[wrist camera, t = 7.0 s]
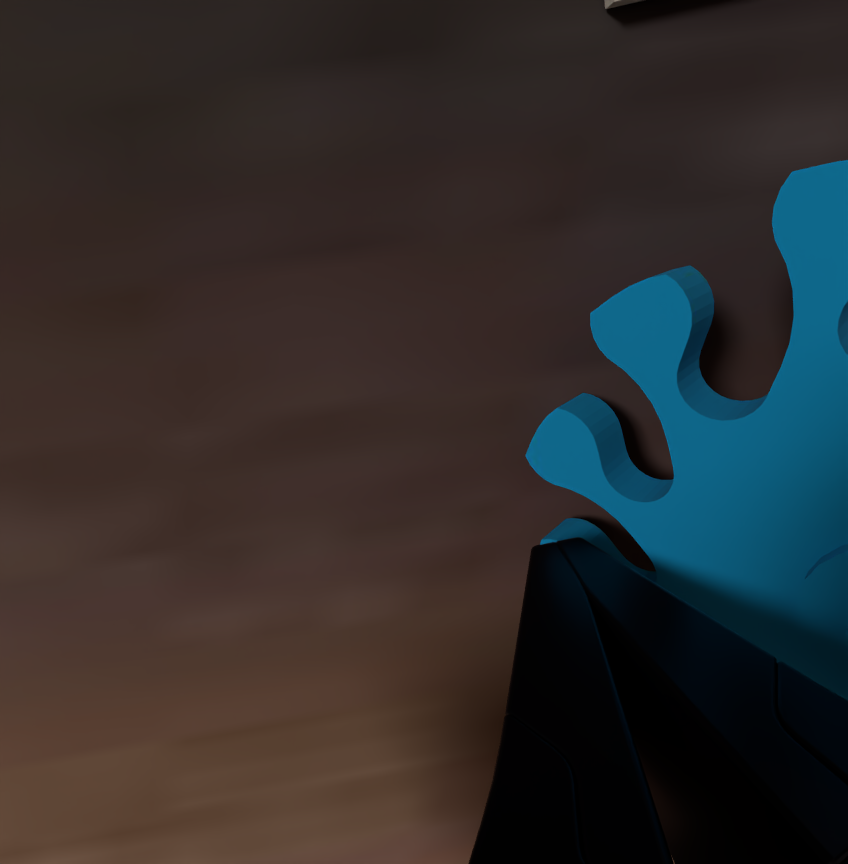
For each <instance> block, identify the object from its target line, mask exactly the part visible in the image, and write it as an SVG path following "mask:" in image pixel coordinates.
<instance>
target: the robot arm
mask: <svg viewBox="0 0 848 864" xmlns="http://www.w3.org/2000/svg"><path fill="white" fill-rule="evenodd" d="M671 856H672V857H671ZM672 858H673V860H674V862H675V864H848V701H847V700H846V699H844V698H842V697H841V696H839V695H837V694H836V693H834V692H832V691H830V690H829V689H827V688H825V687H824V686H822V685H820V684H819V683H817V682H815V681H814V680H812V679H810V678H809V677H807V676H805V675H804V674H802V673H800V672H799V671H797V670H796V669H794V668H792V667H791V666H789V665H787V664H786V663H784V662H782V661H779V662H778V663H777V659H776V658H775V657H774V656H773V655H771V654H769V653H768V652H766V651H764V650H763V649H761V648H760V647H758V646H756V645H755V644H753V643H751V642H750V641H748V640H747V639H745V638H743V637H742V636H740V635H739V634H737V633H735V632H734V631H732V630H730V629H729V628H727V627H726V626H724V625H722V624H721V623H719V622H717V621H716V620H714V619H713V618H711V617H709V616H708V615H706V614H705V613H703V612H701V611H700V610H698V609H696V608H695V607H693V606H692V605H690V604H688V603H687V602H685V601H684V600H682V599H680V598H679V597H677V596H675V595H674V594H672V593H671V592H669V591H667V590H666V589H664V588H662V587H661V586H659V585H658V584H656V583H654V582H653V581H651V580H650V579H648V578H646V577H645V576H643V575H641V574H640V573H638V572H637V571H635V570H633V569H632V568H630V567H628V566H627V565H625V564H624V563H622V562H620V561H619V560H617V559H616V558H614V557H612V556H611V555H609V554H607V553H606V552H604V551H603V550H601V549H599V548H598V547H596V546H595V545H593V544H591V543H590V542H588V541H586V540H585V539H583V538H581V537H575V538H570V539H565V540H560V541H557V542H551V543H546V544H541V545H536V546H534V547H533V548H532V550H531V555H530V561H529V568H528V574H527V580H526V586H525V593H524V599H523V605H522V612H521V618H520V624H519V630H518V637H517V643H516V649H515V656H514V662H513V668H512V674H511V681H510V687H509V693H508V699H507V706H506V716H505V717H504V722H503V728H502V735H501V741H500V746H499V751H498V756H497V761H496V766H495V771H494V776H493V781H492V785H491V788H490V792H489V796H488V799H487V803H486V807H485V810H484V814H483V818H482V821H481V825H480V828H479V831H478V835H477V838H476V841H475V844H474V848H473V851H472V854H471V857H470V860H469V864H674V863H673V860H672Z"/></svg>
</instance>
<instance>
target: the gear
mask: <svg viewBox="0 0 848 864" xmlns="http://www.w3.org/2000/svg"><path fill="white" fill-rule="evenodd" d="M772 226H773V232H774V238H775V241H776V243H777V245H778V247H779V249H780V251H781V254H782V256H783V258H784V260H785V262H786V265H787V269H788V273H789V277H790V281H791V285H792V289H793V308H794V319H793V325H792V332H791V338H790V343H789V346H788V349H787V352H786V354H785V357H784V360H783V363H782V366H781V368H780V370H779V372H778V374H777V376H776V379H775V381H774V383H773V385H772V387H771V389H770V391H769V393H768V394H767V395H766V396H764V397H762V398H758V399H755V400H749V401H738V400H731V399H728V398H726V397H723V396H721V395H719V394H718V393H716V392H714V391H713V390H712V389H711V388H710V387H709V386H708V385H707V384H706V382H705V381H704V379H703V377H702V375H701V371H700V368H699V357H700V353H701V349H702V346H703V344H704V341H705V338H706V336H707V333H708V331H709V328H710V325H711V322H712V318H713V314H714V299H713V294H712V290H711V288H710V286H709V284H708V282H707V280H706V279H705V278H704V277H703V276H702V275H701V273H700V272H699V271H697V270H696V269H694V268H693V267H692V266H685V267H681V268H677V269H673V270H669V271H667V272H664V273H661V274H658V275H656V276H653V277H650V278H647V279H645V280H643V281H640V282H638V283H636V284H633V285H631V286H629V287H627V288H626V289H624V290H622V291H621V292H619V293H618V294H616V295H614V296H613V297H611V298H610V299H609V300H607V301H606V302H605V303H603V304H602V305H601V306H599V307H598V308H597V309H595V310H594V311H593V312H591V313H590V326H591V330H592V334H593V338H594V340H595V342H596V343H597V345H598V347H599V349H600V350H601V351H602V352H603V353H604V355H605V356H606V357H607V358H608V359H610V360H611V361H612V362H614V363H615V364H616V365H618V366H619V367H620V368H622V369H623V370H624V371H625V372H626V373H627V374H628V375H629V376H630V377H631V378H632V379H633V380H634V381H635V382H636V383H637V384H638V385H639V386H640V387H641V389H642V390H643V392H644V393H645V394H646V396H647V397H648V399H649V400H650V401H651V403H652V405H653V407H654V409H655V411H656V413H657V415H658V417H659V419H660V421H661V423H662V426H663V429H664V432H665V436H666V439H667V442H668V447H669V451H670V456H671V460H672V465H673V471H674V479H672V480H660V479H655V478H652V477H650V476H648V475H646V474H644V473H643V472H641V471H640V470H639V469H638V468H637V467H636V466H635V465H634V464H633V463H632V461H631V460H630V458H629V456H628V453H627V450H626V446H625V442H624V438H623V433H622V429H621V426H620V423H619V420H618V418H617V416H616V415H615V413H614V411H613V410H612V409H611V408H610V407H609V406H608V405H607V404H606V403H605V402H604V401H602V400H601V399H600V398H597V397H595V396H593V395H591V394H587V393H582V394H580V395H578V396H577V397H575V398H573V399H572V400H570V401H568V402H566V403H565V404H563V405H561V406H560V407H558V408H556V409H555V410H554V411H553V412H551V413H550V414H549V415H548V416H547V417H546V418H545V419H544V421H543V422H542V423H541V424H540V426H539V427H538V429H537V431H536V433H535V435H534V437H533V438H532V441H531V443H530V446H529V448H528V451H527V453H526V458H527V460H528V461H529V463H530V465H531V466H532V468H533V469H534V470H535V471H536V473H537V474H539V475H540V476H541V477H542V478H543V479H545V480H546V481H548V482H550V483H552V484H554V485H557V486H561V487H564V488H567V489H570V490H572V491H575V492H577V493H579V494H581V495H583V496H585V497H587V498H589V499H590V500H592V501H593V502H595V503H596V504H598V505H599V506H601V507H602V508H604V509H605V510H606V511H607V512H608V513H610V514H611V515H612V516H613V517H614V518H616V519H617V520H618V521H619V522H620V523H621V525H622V526H623V527H624V528H625V529H626V530H627V531H628V532H629V533H630V534H631V535H632V537H633V538H634V539H635V540H636V542H637V543H638V544H639V545H640V546H641V548H642V549H643V550H644V551H645V553H646V554H647V555H648V556H649V558H650V559H651V561H652V562H653V565H654V567H655V570H656V572H655V571H647V570H644V569H641V568H639V567H637V566H635V565H633V564H632V563H631V562H629V561H628V560H627V559H626V558H625V557H624V556H623V555H622V554H621V552H620V551H619V550H618V549H617V547H616V546H615V545H614V544H613V543H612V541H611V540H610V539H609V538H608V536H607V535H606V534H605V533H604V532H603V531H602V530H601V529H599V528H598V527H597V526H595V525H594V524H592V523H590V522H588V521H585V520H582V519H578V518H568V519H565V520H564V521H563V522H562V523H560V524H559V525H558V526H557V527H556V528H555V529H553V530H552V531H551V532H550V533H549V534H548V535H547V536H545V537H544V538H543V539H542V540H541V543H540V545H541V544H546V543H551V542H557V541H560V540H565V539H570V538H575V537H581V538H583V539H585V540H586V541H588V542H590V543H591V544H593V545H595V546H596V547H598V548H599V549H601V550H603V551H604V552H606V553H607V554H609V555H611V556H612V557H614V558H616V559H617V560H619V561H620V562H622V563H624V564H625V565H627V566H628V567H630V568H632V569H633V570H635V571H637V572H638V573H640V574H641V575H643V576H645V577H646V578H648V579H650V580H651V581H653V582H654V583H656V584H658V585H659V586H661V587H662V588H664V589H666V590H667V591H669V592H671V593H672V594H674V595H675V596H677V597H679V598H680V599H682V600H684V601H685V602H687V603H688V604H690V605H692V606H693V607H695V608H696V609H698V610H700V611H701V612H703V613H705V614H706V615H708V616H709V617H711V618H713V619H714V620H716V621H717V622H719V623H721V624H722V625H724V626H726V627H727V628H729V629H730V630H732V631H734V632H735V633H737V634H739V635H740V636H742V637H743V638H745V639H747V640H748V641H750V642H751V643H753V644H755V645H756V646H758V647H760V648H761V649H763V650H764V651H766V652H768V653H769V654H771V655H773V656H774V657H775V658H776V659H777V663H778V662H779V661H782V662H784V663H786V664H787V665H789V666H791V667H792V668H794V669H796V670H797V671H799V672H800V673H802V674H804V675H805V676H807V677H809V678H810V679H812V680H814V681H815V682H817V683H819V684H820V685H822V686H824V687H825V688H827V689H829V690H830V691H832V692H834V693H836V694H837V695H839V696H841V697H842V698H844V699H846V700H847V701H848V160H845V161H838V162H833V163H828V164H824V165H819V166H815V167H810V168H806V169H801V170H797V171H792V172H791V174H790V175H789V177H788V178H787V180H786V181H785V183H784V184H783V186H782V187H781V189H780V192H779V194H778V197H777V199H776V202H775V205H774V210H773V219H772Z"/></svg>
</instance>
